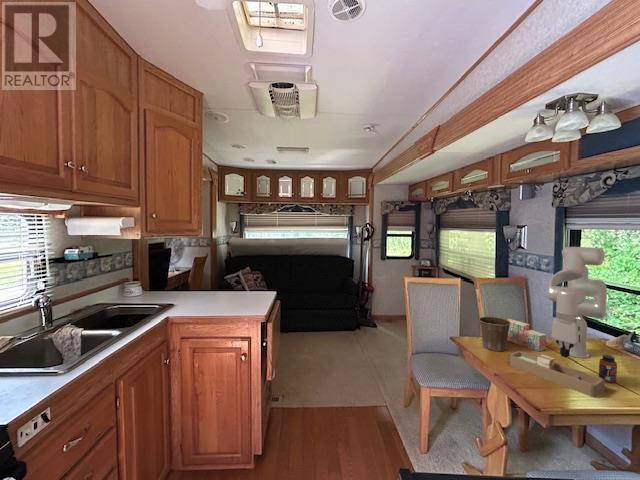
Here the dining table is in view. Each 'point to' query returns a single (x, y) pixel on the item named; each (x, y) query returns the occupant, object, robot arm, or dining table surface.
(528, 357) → the track
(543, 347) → the stack of blocks
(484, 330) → the plant pot
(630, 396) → the dining table surface
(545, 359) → the birch block
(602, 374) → the supplement bottle
